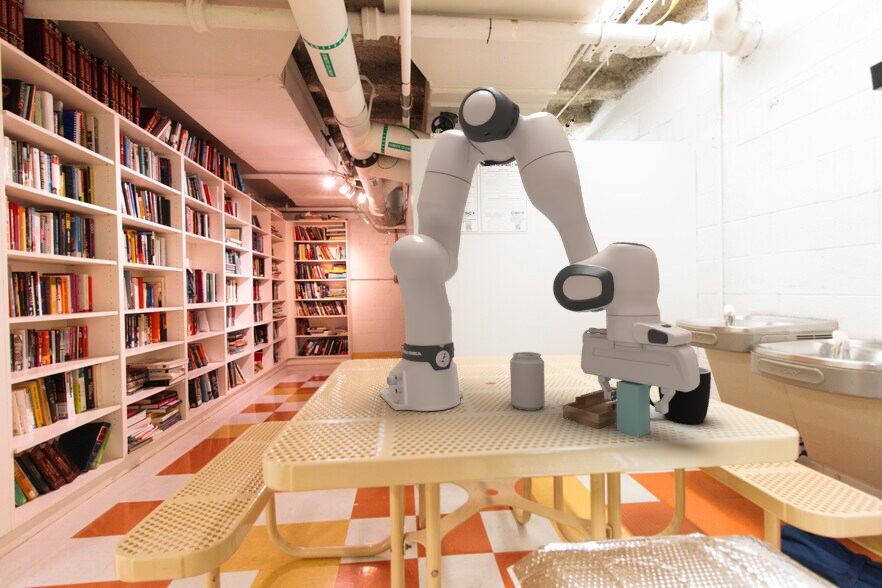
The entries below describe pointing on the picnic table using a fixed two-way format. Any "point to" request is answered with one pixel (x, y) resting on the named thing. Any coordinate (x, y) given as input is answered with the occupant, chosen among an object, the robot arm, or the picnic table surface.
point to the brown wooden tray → (592, 409)
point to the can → (527, 380)
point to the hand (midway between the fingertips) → (634, 405)
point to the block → (633, 408)
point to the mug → (690, 401)
